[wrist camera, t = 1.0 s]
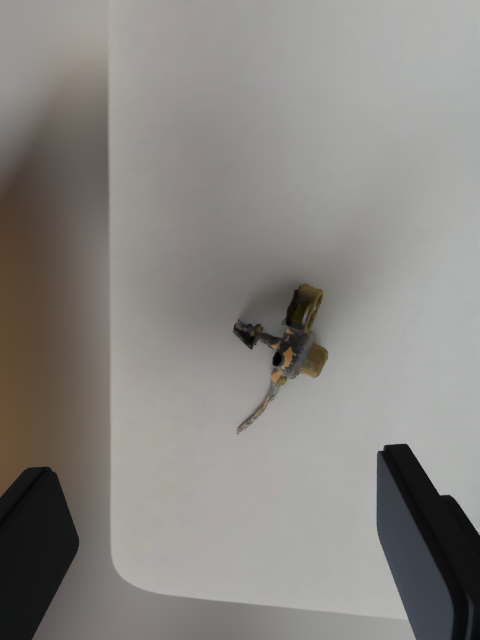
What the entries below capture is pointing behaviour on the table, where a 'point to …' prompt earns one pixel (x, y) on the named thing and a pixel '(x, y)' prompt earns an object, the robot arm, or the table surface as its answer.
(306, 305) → the regulator
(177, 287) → the table surface
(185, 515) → the table surface
